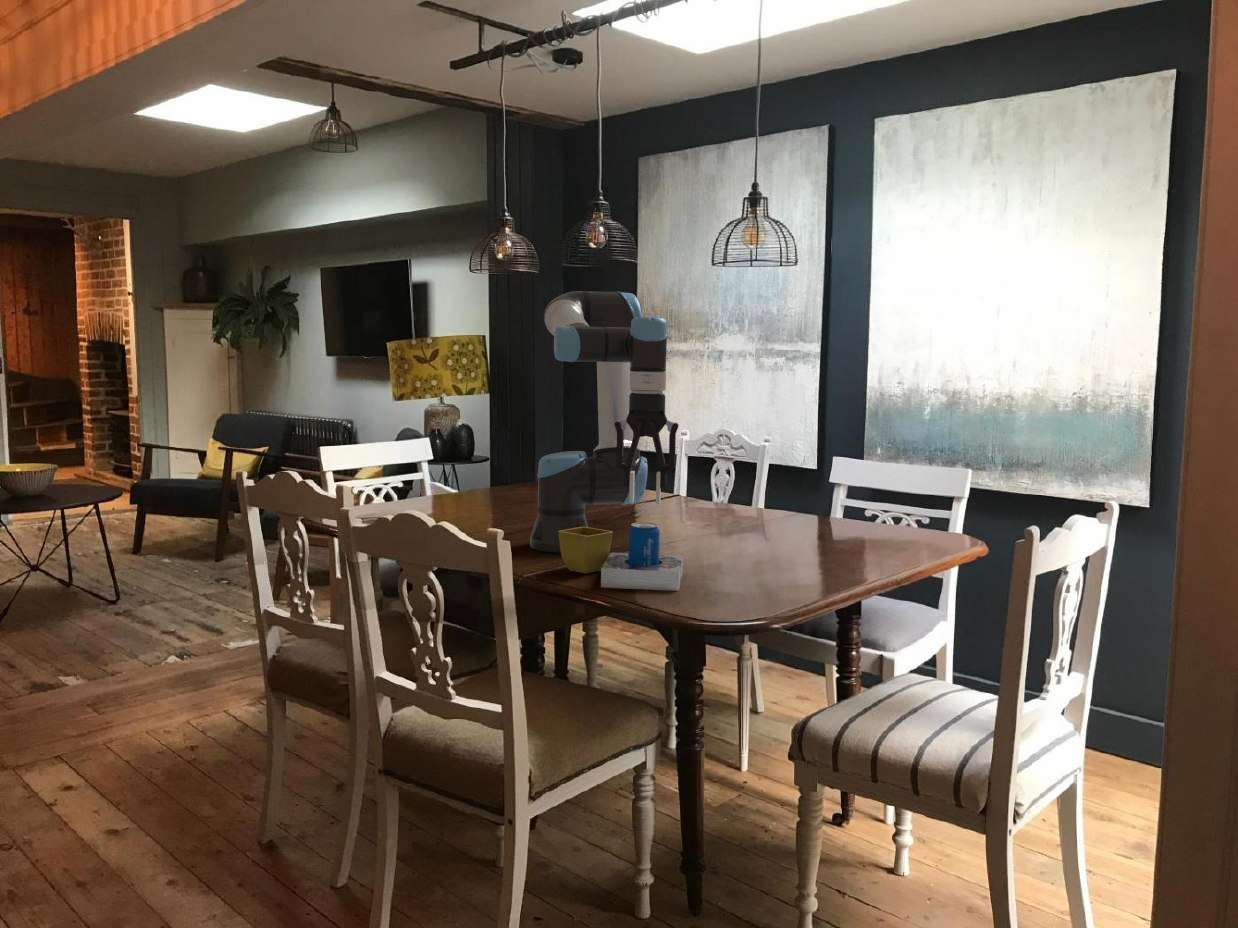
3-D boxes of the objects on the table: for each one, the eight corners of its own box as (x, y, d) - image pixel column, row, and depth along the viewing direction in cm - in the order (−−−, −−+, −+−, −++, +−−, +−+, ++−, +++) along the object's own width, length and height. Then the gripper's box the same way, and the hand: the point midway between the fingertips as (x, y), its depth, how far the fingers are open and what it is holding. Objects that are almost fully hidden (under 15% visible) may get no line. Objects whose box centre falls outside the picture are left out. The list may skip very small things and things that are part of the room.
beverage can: (632, 584, 209) (633, 527, 207) (624, 577, 215) (625, 522, 213) (662, 583, 210) (663, 526, 209) (653, 576, 217) (654, 521, 215)
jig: (600, 587, 206) (601, 568, 205) (610, 570, 221) (610, 552, 221) (678, 590, 204) (679, 571, 203) (682, 573, 220) (682, 555, 219)
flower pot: (583, 564, 226) (583, 525, 225) (612, 570, 221) (613, 530, 220) (556, 571, 220) (557, 530, 219) (586, 577, 214) (587, 536, 213)
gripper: (602, 391, 205) (600, 503, 208) (689, 394, 203) (686, 507, 206) (606, 390, 213) (604, 498, 215) (691, 392, 211) (688, 501, 213)
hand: (644, 502), depth 211 cm, fingers open, 5 cm apart
